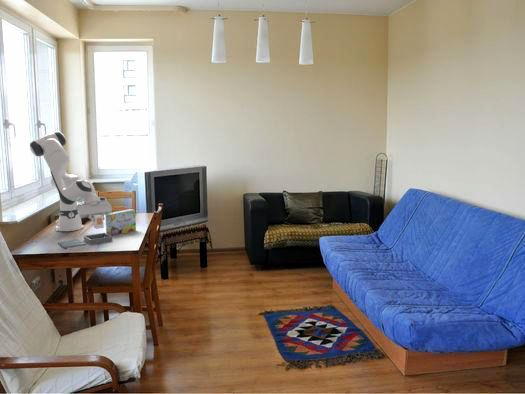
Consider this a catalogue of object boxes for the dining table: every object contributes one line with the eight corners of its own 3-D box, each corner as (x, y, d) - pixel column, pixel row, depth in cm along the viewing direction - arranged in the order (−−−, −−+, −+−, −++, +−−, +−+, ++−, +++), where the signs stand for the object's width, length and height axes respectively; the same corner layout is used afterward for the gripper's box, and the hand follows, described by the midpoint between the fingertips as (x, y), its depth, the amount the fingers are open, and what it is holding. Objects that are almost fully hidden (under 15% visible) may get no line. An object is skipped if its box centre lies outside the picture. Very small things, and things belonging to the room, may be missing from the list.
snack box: (111, 237, 296) (110, 214, 294) (106, 236, 299) (104, 213, 297) (136, 230, 314) (135, 209, 311) (131, 229, 317) (129, 208, 314)
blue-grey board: (58, 243, 280) (58, 242, 280) (78, 240, 287) (78, 239, 287) (64, 249, 267) (64, 247, 267) (85, 245, 274) (85, 244, 274)
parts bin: (84, 241, 285) (83, 235, 284) (105, 238, 293) (105, 232, 292) (90, 245, 274) (90, 239, 274) (112, 242, 282) (112, 236, 281)
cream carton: (94, 227, 283) (92, 215, 282) (101, 226, 286) (100, 214, 285) (96, 228, 280) (95, 216, 278) (103, 227, 282) (102, 215, 281)
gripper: (75, 202, 279) (82, 220, 273) (108, 197, 291) (115, 214, 285) (74, 208, 284) (80, 226, 278) (107, 203, 296) (113, 220, 290)
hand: (98, 220), depth 282 cm, fingers closed on cream carton, 4 cm apart
